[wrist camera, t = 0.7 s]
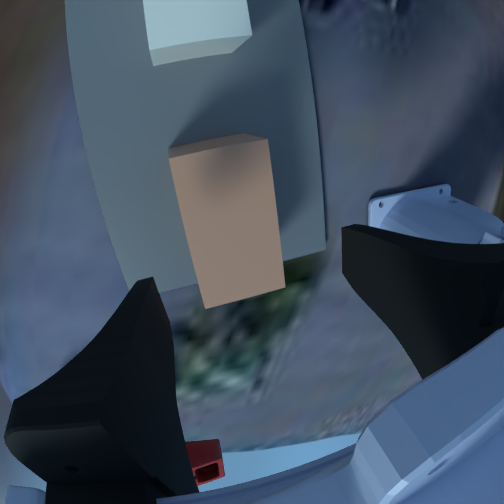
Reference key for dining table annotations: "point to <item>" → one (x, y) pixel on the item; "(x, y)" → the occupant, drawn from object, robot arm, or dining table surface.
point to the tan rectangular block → (229, 216)
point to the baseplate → (190, 127)
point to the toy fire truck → (205, 460)
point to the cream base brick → (194, 28)
